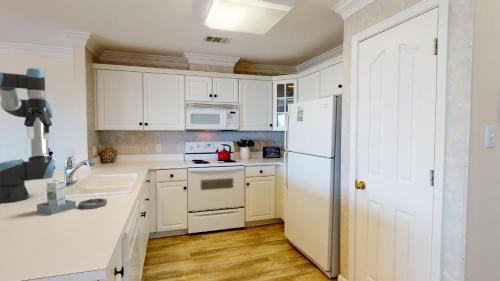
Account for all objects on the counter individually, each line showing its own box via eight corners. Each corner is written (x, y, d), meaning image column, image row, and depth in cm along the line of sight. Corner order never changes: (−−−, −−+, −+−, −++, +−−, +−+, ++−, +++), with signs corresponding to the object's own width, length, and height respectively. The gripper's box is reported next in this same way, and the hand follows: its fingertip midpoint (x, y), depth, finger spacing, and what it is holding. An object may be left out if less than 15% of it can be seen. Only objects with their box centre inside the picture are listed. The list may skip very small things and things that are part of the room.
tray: (37, 211, 138) (36, 204, 138) (61, 205, 149) (61, 198, 149) (51, 214, 133) (51, 207, 133) (75, 207, 144) (75, 201, 144)
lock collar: (74, 207, 146) (73, 203, 145) (96, 201, 157) (95, 197, 157) (90, 210, 140) (89, 206, 140) (111, 203, 152) (111, 200, 152)
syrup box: (66, 207, 143) (65, 180, 143) (56, 210, 138) (55, 182, 137) (56, 206, 144) (55, 179, 143) (47, 209, 138) (45, 182, 138)
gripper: (14, 99, 143) (16, 138, 145) (43, 97, 133) (44, 139, 134) (31, 100, 150) (32, 138, 151) (59, 98, 140) (60, 139, 141)
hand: (38, 139), depth 143 cm, fingers open, 13 cm apart
